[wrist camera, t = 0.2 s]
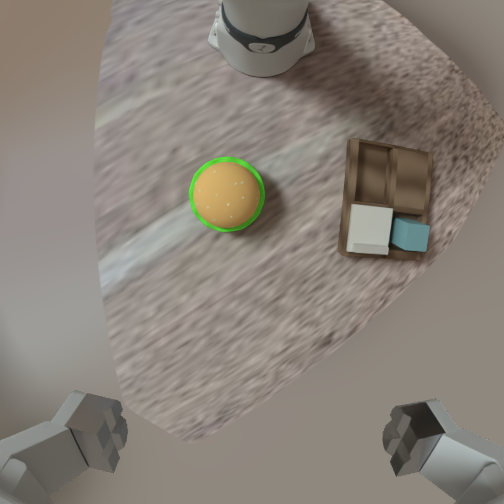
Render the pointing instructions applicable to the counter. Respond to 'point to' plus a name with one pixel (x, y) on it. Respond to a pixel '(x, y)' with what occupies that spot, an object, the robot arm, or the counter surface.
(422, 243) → the block
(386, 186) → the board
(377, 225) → the cover
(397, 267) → the counter surface
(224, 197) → the hamburger
